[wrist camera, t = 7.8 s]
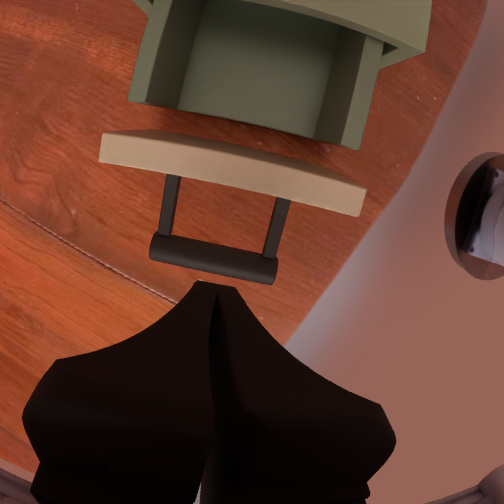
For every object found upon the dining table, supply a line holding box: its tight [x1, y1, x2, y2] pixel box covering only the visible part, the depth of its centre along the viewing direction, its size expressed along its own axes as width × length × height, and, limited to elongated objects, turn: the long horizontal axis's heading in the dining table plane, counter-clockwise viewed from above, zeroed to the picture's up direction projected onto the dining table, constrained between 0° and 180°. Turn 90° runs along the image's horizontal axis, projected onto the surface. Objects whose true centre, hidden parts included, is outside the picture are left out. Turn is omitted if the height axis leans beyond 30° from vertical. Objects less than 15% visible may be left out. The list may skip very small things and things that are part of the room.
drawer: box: [99, 0, 384, 285], centre depth 13 cm, size 17×10×7 cm, turn 167°
